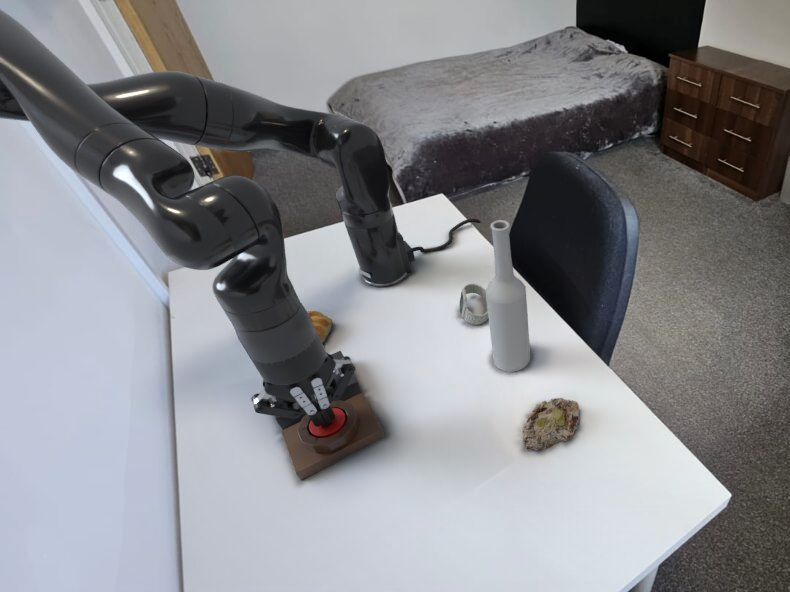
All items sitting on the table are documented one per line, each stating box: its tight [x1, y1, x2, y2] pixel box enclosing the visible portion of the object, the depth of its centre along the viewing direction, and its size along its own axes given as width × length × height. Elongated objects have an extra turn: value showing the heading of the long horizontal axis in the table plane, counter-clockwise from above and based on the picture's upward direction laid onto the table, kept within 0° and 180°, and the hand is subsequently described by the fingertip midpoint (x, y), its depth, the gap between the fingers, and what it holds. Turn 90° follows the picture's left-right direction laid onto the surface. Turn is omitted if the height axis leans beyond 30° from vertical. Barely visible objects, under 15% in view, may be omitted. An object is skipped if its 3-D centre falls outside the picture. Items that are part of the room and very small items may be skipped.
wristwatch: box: [459, 283, 489, 326], centre depth 92 cm, size 9×6×5 cm
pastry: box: [306, 310, 333, 344], centre depth 85 cm, size 9×7×4 cm
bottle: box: [485, 219, 531, 373], centre depth 76 cm, size 7×7×28 cm
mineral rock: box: [522, 397, 580, 451], centre depth 73 cm, size 11×4×8 cm
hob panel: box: [273, 350, 363, 431], centre depth 76 cm, size 12×9×3 cm
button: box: [309, 408, 347, 438], centre depth 69 cm, size 5×5×2 cm
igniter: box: [280, 392, 386, 481], centre depth 70 cm, size 12×8×4 cm
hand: (326, 421), depth 69 cm, fingers closed
